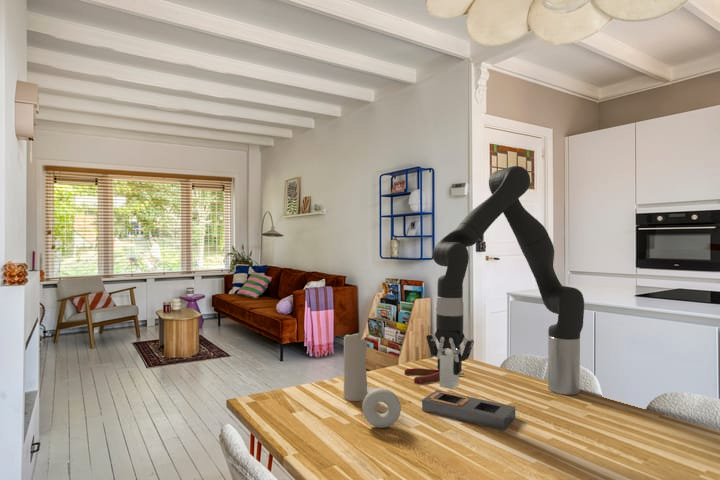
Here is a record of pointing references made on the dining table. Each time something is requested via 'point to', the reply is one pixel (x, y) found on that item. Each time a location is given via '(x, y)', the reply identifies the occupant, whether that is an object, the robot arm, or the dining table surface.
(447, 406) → the rail
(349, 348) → the tall grey curved block
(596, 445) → the dining table surface
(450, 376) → the steel block
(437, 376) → the pliers
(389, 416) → the donut
